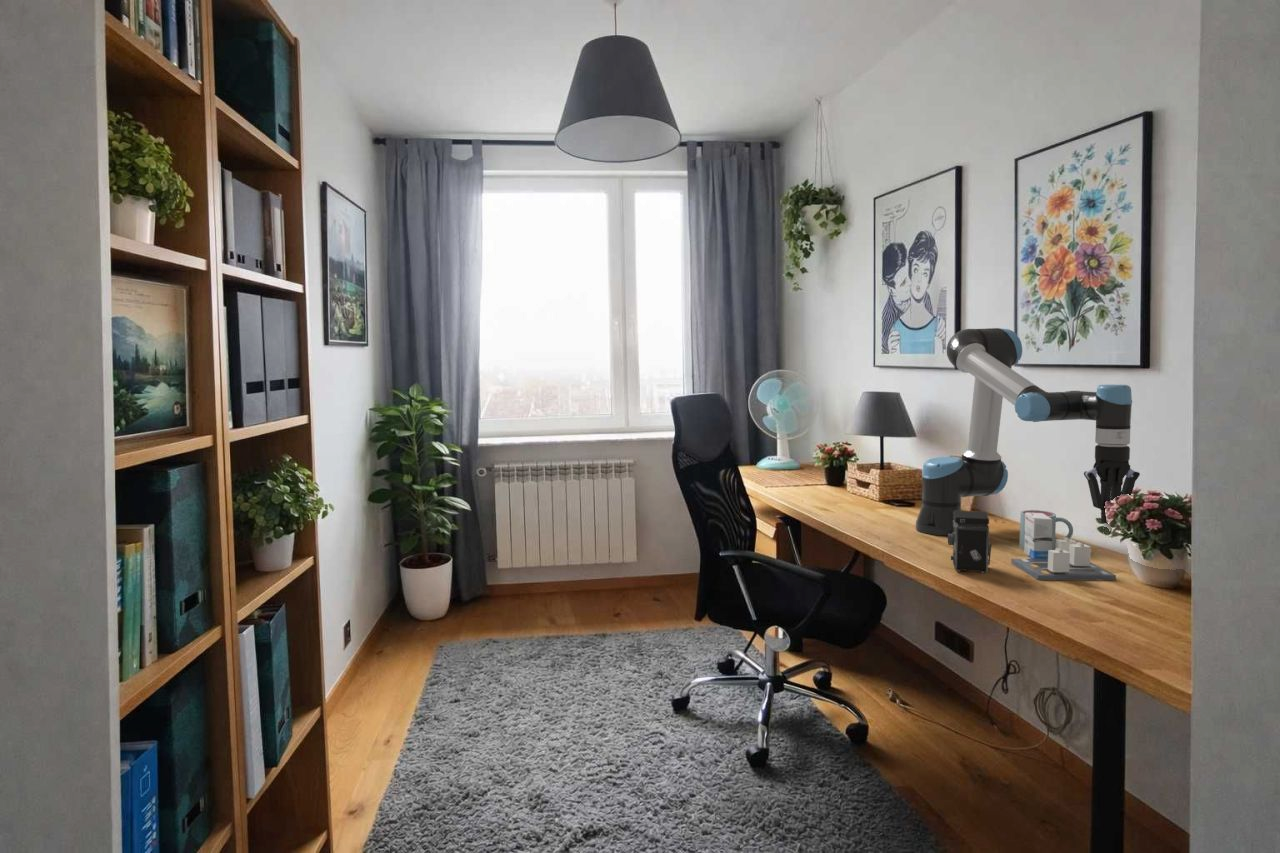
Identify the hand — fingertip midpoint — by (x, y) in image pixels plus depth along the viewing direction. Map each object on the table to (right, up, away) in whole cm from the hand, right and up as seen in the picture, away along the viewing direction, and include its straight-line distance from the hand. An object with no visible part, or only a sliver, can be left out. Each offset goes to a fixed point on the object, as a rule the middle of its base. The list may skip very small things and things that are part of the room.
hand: (1109, 535), depth 190 cm
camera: (-34, -10, +6) cm, 36 cm away
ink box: (-10, -9, +16) cm, 21 cm away
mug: (-3, -7, +25) cm, 26 cm away
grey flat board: (-11, -10, +2) cm, 15 cm away
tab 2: (-15, -8, -3) cm, 18 cm away
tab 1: (-7, -7, +7) cm, 12 cm away
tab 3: (-7, -8, +2) cm, 10 cm away
